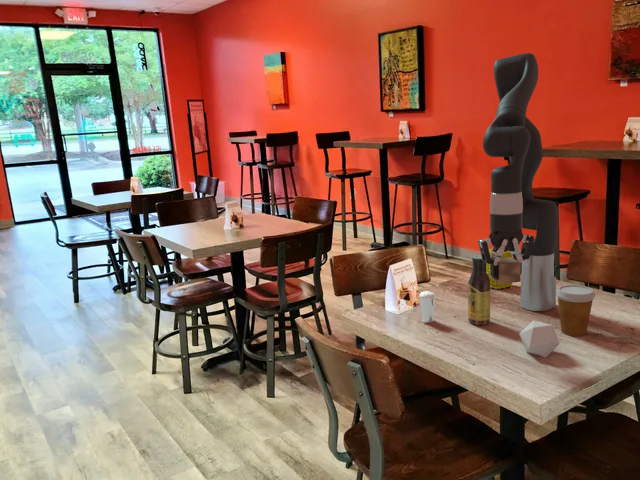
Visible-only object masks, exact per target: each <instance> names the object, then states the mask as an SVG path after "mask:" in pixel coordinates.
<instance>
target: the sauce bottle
mask: <svg viewBox="0 0 640 480" xmlns="http://www.w3.org/2000/svg"><path fill="white" fill-rule="evenodd" d="M471 260H472V271H471V274H470V277H469V279H468V282H467V284H468V285H467V317H468V322H469V323H470V324H472V325H475V326H476V325H477V326H483V325H484V326H485V325H488V324H489V323H490V321H491V320H490V319H491V299H492V298H491V295H492V294H491V292H492V291H491V289H492V288H490V278H489V276H488V275H487V273H486V271H487V269H486V262H484V261H483V260H482V256H481V254H479V255H478V254H476V255H473V256H472V259H471Z"/></svg>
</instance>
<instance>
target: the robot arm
mask: <svg viewBox="0 0 640 480" xmlns="http://www.w3.org/2000/svg"><path fill="white" fill-rule="evenodd" d="M493 78H494V82H495V87H496V88H495V89H496V93H497V96H498V100H499V103H498V106H497V110H496V113H495V118H494V120H492V122H491V123H490V125H489V126H488V127H487V129H486V131H485V132H484V135H483V138H482V148H483V151H484V153H485V154H486V155H487V156H489V157H490V158H508V159H509V164H507V165H503V166H497V167H495V168H494V169H492V170H491V175H490V199H489V229H490V232H489V235H488V237H487V238H483V239H482V238H480V239H478V241H477V243H478V248H479V251H480V255H481V256H482V260H483V261H484V262H486V263H487V264H490V275H491V277H492V278H493V279H495V280H498V279H499V266H498V263H499V260H500V258H501V257H502V255H503V252H507V251H510V252H511V254H512V258H513V259H515V260H517V261H519V262H521V269H520V307H521V308H523V310H524V309H525V310H527V311H532V312H533V311H534V312H546V311H549V310H550V311H551V310H552V309H554V308H555V309H556V307H557V306H556V305H557V295H556V292H557V277H556V276H554V270H555V269H554V268H555V265H554V264H555V262H554V261H555V247H556V244H557V237H558V224H559V209H558V206H557V204H556V203H555V202H554V201H553V200H548V199H537V198H535V197H534V193H533V181H534V178H535V176H536V174H537V171H538V170H539V167H541V163H542V161H543V156H544V151H543V143H542V137H541V136H542V135H541V132H540V130H538V128H537V126H536V125H535V124H534V123H533V122H532V120H531V119H529V118H528V117H527V116H526V115H527V110H528V105H529V103H530V101H531V98H532V96H533V94H534V91H535V89H536V86H537V84H538V80H539V65H538V61H537V58H536V56H535V55H534V53H531V52H525V53H520V54H516V55H511V56H507V57H503V58H499V59H496V60H495V62H494V64H493ZM523 229H526V230H532V231H536V232H535V236H533V235H531V234H529V233H526V234H524V233H523ZM521 242H522V243H521ZM520 243H521V247H520V246H519V245H520ZM490 245H492V248H491V249H492V251H491V257H490V253H489V249H490ZM497 250H498V252H497Z"/></svg>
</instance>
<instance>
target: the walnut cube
mask: <svg viewBox="0 0 640 480" xmlns="http://www.w3.org/2000/svg"><path fill="white" fill-rule="evenodd" d="M498 266H499V279H498V280H495V279H493V278H492V279H493V280H495V281H497V282H499V283H500V284H506V283H512V284H515V283H521V275H520V269H521V262H519V261H517V260H515V259H513V257H512V258H511V257H509V258H500V260H499V263H498Z"/></svg>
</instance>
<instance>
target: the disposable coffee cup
mask: <svg viewBox="0 0 640 480" xmlns="http://www.w3.org/2000/svg"><path fill="white" fill-rule="evenodd" d="M595 297H596V294H595V293H594V290H593V288H591V287H589V286H585V285H579V284H564V285H560V286H558V288H557V289H556V298H557V304H558V305H557V306H558V313H559V323H560V331H561V333H563V334H564V335H567V336H570V337H571V336H572V337H582V336H585V335H587V333H588V327H589V322H590V316H591V310H592V306H593V302H594V299H595Z"/></svg>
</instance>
